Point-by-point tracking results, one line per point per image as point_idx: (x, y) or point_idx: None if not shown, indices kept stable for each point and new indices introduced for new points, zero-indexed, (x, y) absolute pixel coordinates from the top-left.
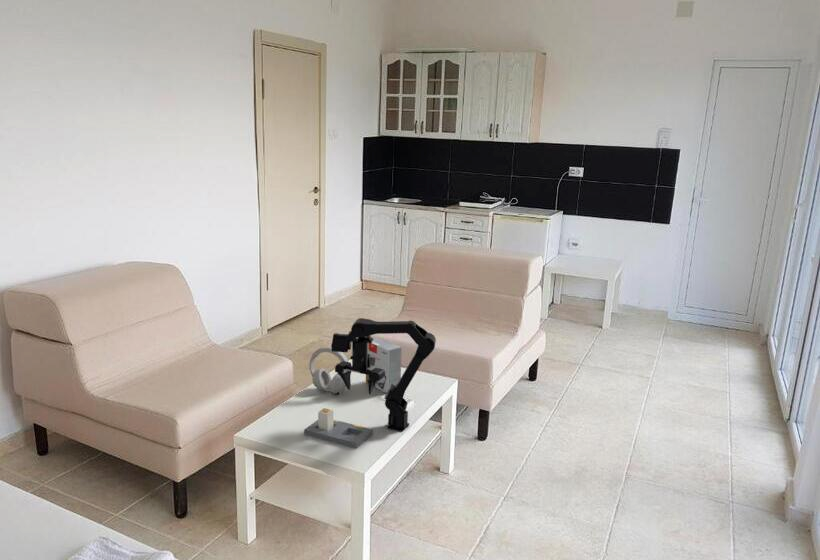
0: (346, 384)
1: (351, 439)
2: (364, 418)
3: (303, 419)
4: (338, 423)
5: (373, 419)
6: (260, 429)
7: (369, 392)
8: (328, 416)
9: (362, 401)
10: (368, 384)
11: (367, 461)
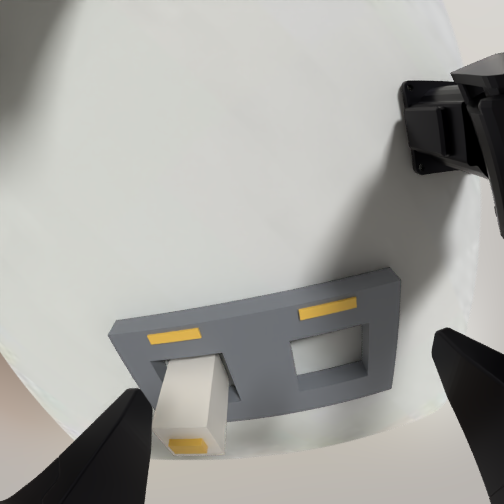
0: (137, 484)
1: (363, 387)
2: (238, 153)
3: (65, 343)
4: (217, 342)
5: (290, 128)
6: (76, 426)
7: (452, 387)
8: (223, 439)
9: (79, 20)
10: (491, 493)
11: (439, 386)
